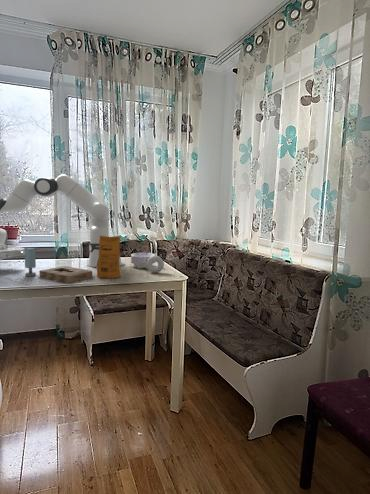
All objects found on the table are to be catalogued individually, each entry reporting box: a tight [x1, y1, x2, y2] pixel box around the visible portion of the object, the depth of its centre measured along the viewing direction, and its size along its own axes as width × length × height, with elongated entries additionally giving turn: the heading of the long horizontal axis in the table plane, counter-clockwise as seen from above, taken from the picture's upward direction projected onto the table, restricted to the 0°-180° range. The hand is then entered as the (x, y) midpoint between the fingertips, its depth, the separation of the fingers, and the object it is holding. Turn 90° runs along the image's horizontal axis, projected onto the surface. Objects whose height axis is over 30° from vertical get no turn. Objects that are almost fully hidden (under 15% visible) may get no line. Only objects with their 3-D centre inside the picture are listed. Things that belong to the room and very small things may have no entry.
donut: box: [146, 255, 165, 274], centre depth 193 cm, size 10×4×10 cm, turn 96°
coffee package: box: [96, 235, 121, 279], centre depth 179 cm, size 10×12×22 cm
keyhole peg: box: [24, 247, 37, 278], centre depth 174 cm, size 5×5×14 cm
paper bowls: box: [130, 252, 157, 269], centre depth 208 cm, size 15×15×8 cm
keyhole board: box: [38, 265, 93, 284], centre depth 175 cm, size 21×16×4 cm
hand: (14, 254), depth 179 cm, fingers open, 8 cm apart
